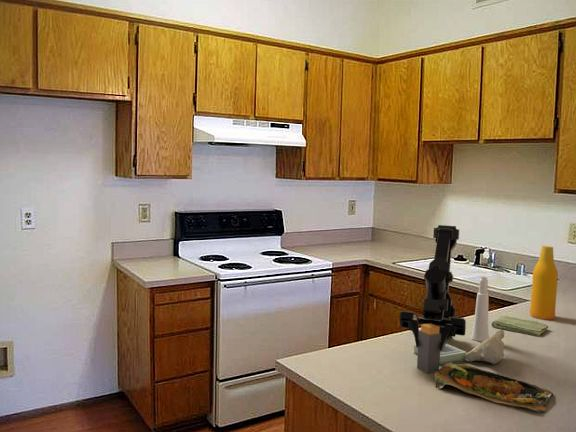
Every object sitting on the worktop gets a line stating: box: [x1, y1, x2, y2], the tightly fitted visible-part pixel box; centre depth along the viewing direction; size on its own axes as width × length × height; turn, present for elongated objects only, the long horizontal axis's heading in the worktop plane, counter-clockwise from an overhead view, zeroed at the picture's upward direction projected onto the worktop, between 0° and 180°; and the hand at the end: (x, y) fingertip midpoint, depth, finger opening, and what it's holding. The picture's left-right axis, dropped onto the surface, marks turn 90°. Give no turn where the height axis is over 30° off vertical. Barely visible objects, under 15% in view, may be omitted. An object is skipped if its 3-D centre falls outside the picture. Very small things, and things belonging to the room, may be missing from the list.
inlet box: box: [413, 343, 467, 366], centre depth 165 cm, size 11×11×3 cm
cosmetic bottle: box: [470, 275, 490, 343], centre depth 183 cm, size 6×6×22 cm
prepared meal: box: [434, 363, 554, 413], centre depth 141 cm, size 28×4×18 cm
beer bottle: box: [529, 245, 559, 321], centre depth 215 cm, size 9×9×29 cm
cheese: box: [465, 329, 505, 365], centre depth 162 cm, size 15×7×15 cm
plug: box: [416, 323, 441, 374], centre depth 153 cm, size 4×4×13 cm
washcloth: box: [491, 315, 549, 337], centre depth 199 cm, size 13×18×3 cm
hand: (428, 348), depth 152 cm, fingers closed on plug, 6 cm apart
